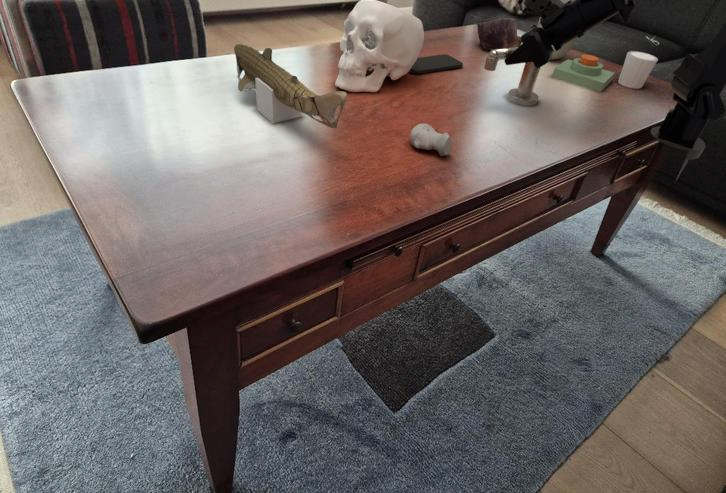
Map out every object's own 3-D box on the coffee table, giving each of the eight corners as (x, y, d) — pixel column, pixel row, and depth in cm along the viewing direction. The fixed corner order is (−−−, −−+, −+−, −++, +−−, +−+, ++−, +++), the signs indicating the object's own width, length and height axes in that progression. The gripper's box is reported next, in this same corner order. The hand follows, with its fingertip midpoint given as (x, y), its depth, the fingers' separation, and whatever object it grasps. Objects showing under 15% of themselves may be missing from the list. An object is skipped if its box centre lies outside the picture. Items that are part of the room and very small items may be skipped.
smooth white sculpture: (403, 148, 85) (424, 134, 87) (434, 168, 80) (456, 152, 82) (400, 128, 82) (423, 114, 83) (433, 147, 77) (456, 132, 79)
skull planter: (307, 72, 100) (343, -22, 94) (362, 96, 116) (396, 17, 111) (353, 95, 93) (395, -5, 88) (405, 117, 109) (443, 34, 104)
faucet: (541, 100, 105) (555, 57, 100) (530, 108, 101) (544, 64, 95) (514, 91, 108) (526, 49, 102) (502, 98, 104) (515, 55, 98)
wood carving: (317, 168, 75) (319, 100, 68) (220, 87, 95) (214, 27, 88) (362, 154, 80) (369, 89, 73) (261, 79, 100) (258, 23, 93)
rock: (487, 46, 136) (465, 50, 130) (492, 13, 132) (469, 16, 126) (523, 52, 129) (501, 57, 123) (529, 17, 124) (507, 20, 118)
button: (597, 65, 116) (600, 57, 115) (593, 68, 114) (596, 61, 113) (581, 60, 118) (584, 53, 117) (576, 64, 115) (579, 56, 114)
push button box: (611, 81, 119) (618, 65, 116) (600, 92, 113) (607, 75, 110) (564, 67, 124) (570, 51, 121) (551, 77, 117) (557, 60, 115)
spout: (533, 59, 101) (539, 41, 99) (545, 65, 99) (551, 47, 97) (480, 66, 95) (484, 47, 93) (491, 72, 93) (496, 53, 91)
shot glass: (623, 77, 122) (635, 49, 118) (649, 86, 119) (663, 57, 114) (610, 81, 119) (622, 53, 114) (636, 91, 115) (650, 62, 110)
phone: (397, 60, 114) (446, 53, 121) (396, 63, 115) (445, 57, 121) (415, 71, 109) (465, 63, 116) (414, 75, 110) (464, 67, 117)
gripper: (572, -37, 88) (498, 15, 98) (551, -22, 75) (469, 36, 85) (599, 18, 90) (524, 63, 101) (584, 42, 77) (500, 90, 88)
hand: (505, 62), depth 94 cm, fingers closed
